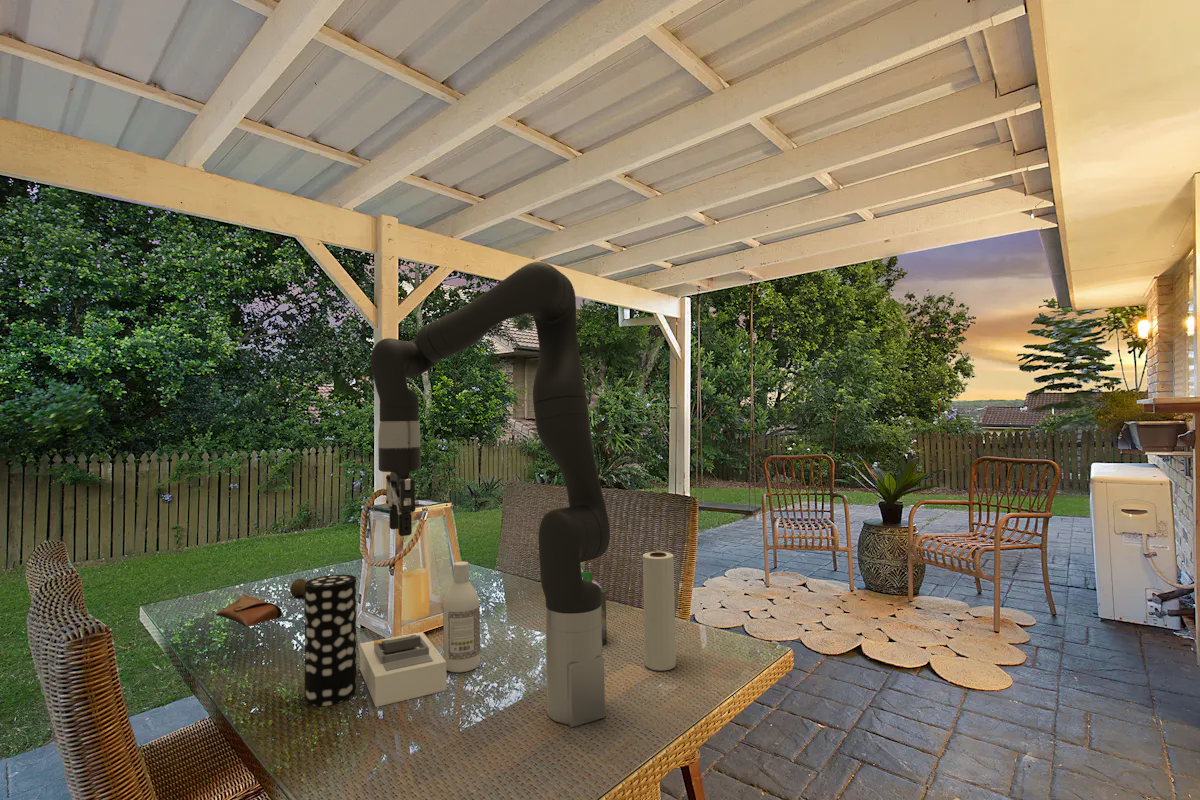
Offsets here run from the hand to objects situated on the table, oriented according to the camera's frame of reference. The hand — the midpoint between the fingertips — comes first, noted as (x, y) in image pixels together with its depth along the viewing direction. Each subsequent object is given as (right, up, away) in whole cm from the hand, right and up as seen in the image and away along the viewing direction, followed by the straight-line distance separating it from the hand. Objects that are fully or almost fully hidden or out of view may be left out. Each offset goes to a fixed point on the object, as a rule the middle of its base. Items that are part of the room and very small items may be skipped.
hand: (400, 531), depth 113 cm
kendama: (-38, -30, +52) cm, 71 cm away
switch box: (+1, -27, -1) cm, 27 cm away
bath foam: (+11, -28, +5) cm, 30 cm away
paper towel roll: (+50, -27, +4) cm, 56 cm away
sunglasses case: (-51, -30, +39) cm, 71 cm away
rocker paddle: (0, -21, -1) cm, 21 cm away
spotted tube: (-10, -28, -7) cm, 30 cm away
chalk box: (+34, -28, +18) cm, 47 cm away
